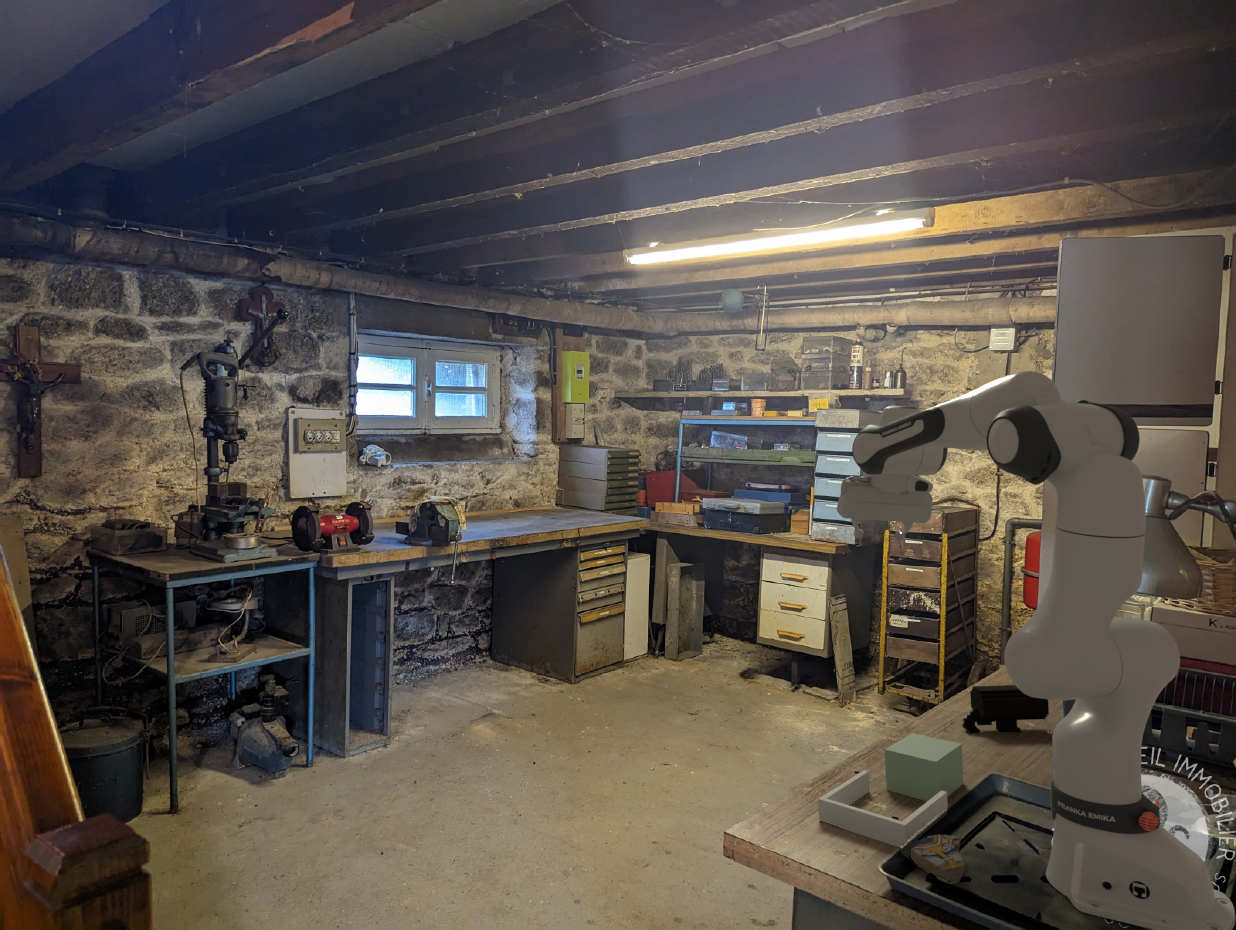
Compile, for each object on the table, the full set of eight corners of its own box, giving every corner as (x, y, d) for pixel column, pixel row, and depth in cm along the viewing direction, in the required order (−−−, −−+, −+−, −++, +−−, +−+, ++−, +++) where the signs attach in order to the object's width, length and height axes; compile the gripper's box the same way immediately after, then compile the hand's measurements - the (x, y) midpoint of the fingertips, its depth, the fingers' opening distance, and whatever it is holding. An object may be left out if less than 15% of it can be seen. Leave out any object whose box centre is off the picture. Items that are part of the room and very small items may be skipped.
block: (963, 784, 151) (961, 743, 151) (937, 805, 142) (936, 761, 142) (913, 772, 158) (912, 733, 158) (886, 790, 149) (884, 749, 149)
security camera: (958, 726, 183) (956, 684, 183) (1037, 724, 182) (1035, 682, 182) (970, 736, 176) (969, 693, 176) (1053, 734, 175) (1051, 690, 175)
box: (948, 814, 138) (946, 791, 138) (906, 849, 126) (905, 825, 126) (864, 790, 149) (864, 769, 149) (819, 821, 137) (818, 798, 137)
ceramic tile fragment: (979, 868, 114) (908, 865, 115) (980, 890, 114) (909, 887, 115) (958, 831, 125) (894, 829, 127) (959, 852, 125) (895, 849, 127)
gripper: (848, 479, 163) (838, 540, 166) (940, 485, 164) (928, 546, 168) (838, 471, 169) (828, 531, 172) (927, 477, 171) (916, 536, 174)
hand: (878, 538), depth 170 cm, fingers open, 8 cm apart
